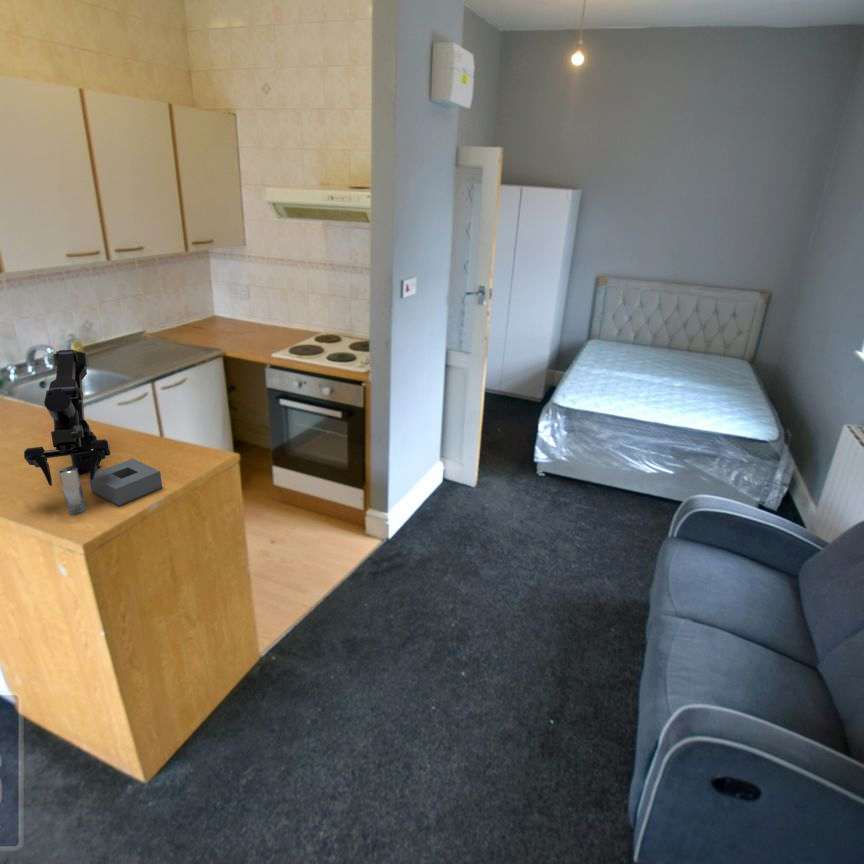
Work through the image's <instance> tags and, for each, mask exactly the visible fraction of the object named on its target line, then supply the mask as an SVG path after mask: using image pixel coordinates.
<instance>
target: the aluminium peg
mask: <svg viewBox="0 0 864 864" xmlns="http://www.w3.org/2000/svg"><path fill="white" fill-rule="evenodd" d="M59 477H60V482H61V485H62V490H63V494H64V498H65V499H64V500H65V504H66V508H67V512H68V514H69V515H71V516H72V515H73V516H75V515H81V514H82V513H85V512H86V510H87V508H86V504H85V503H86V502H85V498H84V497H85V496H84V494H83V493H84V492H83V489H82V485H81V484H82V483H81V479H80V475H79V474H78V469H77V468H76V467H71V466H66V467H64V468H61V469H59Z"/></svg>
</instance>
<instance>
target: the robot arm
mask: <svg viewBox="0 0 864 864" xmlns="http://www.w3.org/2000/svg"><path fill="white" fill-rule="evenodd" d="M52 356H53V363H54V367H55V368H56V373H55V379H54V380H52V381H51V382H50V383H49V386H48V390H46V392H45V393H46V394H45V396H44V401H43V405H44V406H45V408H46V410H47V412H48V413H49V415H50V417H51V418H52V419H53V429H54V430H53V431H50V435H51V441H52V446H53V448H55V449H49V450H48V449H47V450H45V448H44V447H43V446H36V447H28V448H26V449H24V451H23V456H24V460H25V461H26V463H27V464H28V465H29V466H34V468H40V469H41V471H42V473H43V475H44V477H45V480H46V481H47V483H48V485H49V486H50V487H52V486H53V480H52V479H53V478H52V475H51V469H50V468H51V467H50V465H49V462H48V459H51V458H58V457H66V456H70V460H71V461H70V462H71V464H72V465H71V466H70V467H76V468H77V469H78V474H79V476H81V475H84V474H86V473H89V474H90V478H91V480H93V478H94V476H95V473H96V472H97V471H98V470H97V469H100V468H101V465H100V463H101V461H102V460H105V459H106V457H107V456H111V455H112V454H111V446H110V444H109V440H107V439H98V437H97V436H96V435H95V434H94V432H93V431H92V430H91V427H90V425H89V423H88V422H87V420H85V408H84V407H85V406H84V391H83V384H82V383H83V382H82V381H83V380H84V378H85V377H86V375H87V374H88V369H87V368H88V367H89V365H90V363H89V357H88V355H87V354H86V353H85V352H82V351H77V350H74V349H60V350H56V351H55V353H53V355H52Z"/></svg>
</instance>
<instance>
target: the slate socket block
mask: <svg viewBox="0 0 864 864" xmlns="http://www.w3.org/2000/svg"><path fill="white" fill-rule="evenodd" d="M161 475H162V474H161V471H160V470H158V469H156V468H155V467H152V466H150V465H148V464H145V463H143V462H141V461H139V460H137V459H134V458H131V459H127V460H124V461H123V462H119V463H117V464H113V465H112V466H108V467H106V468H102V469H100V470H96V473H95V476H94V478H93V480H91V478H90V473H89V474H88V481H89V485H90V490H91V493H93V494H95V495H96V496H98V497H100V498H102V499H104V500H106V501H107V502H109V503H112V504H113V505H115V506H116V507H118V508H119V507H121V506H124V505H126V504H129V503H132V502H133V501H135V500H138V499H141V498H143V497H146V496H147V495H150V494H152V493H155V492H156V491H159V490H161V489H163V482H162V476H161Z"/></svg>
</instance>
